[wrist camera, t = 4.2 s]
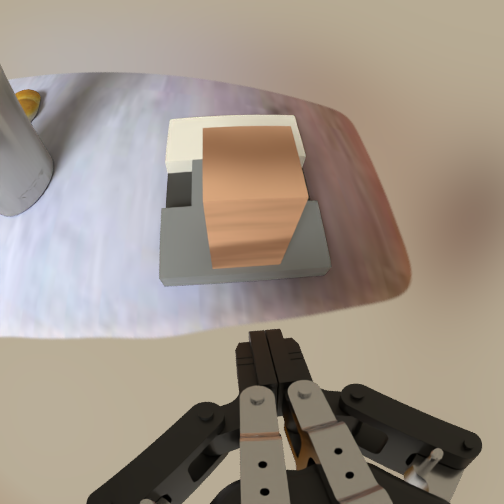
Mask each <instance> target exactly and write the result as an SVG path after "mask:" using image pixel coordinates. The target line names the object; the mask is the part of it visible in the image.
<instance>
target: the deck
mask: <svg viewBox="0 0 504 504" xmlns="http://www.w3.org/2000/svg"><path fill="white" fill-rule="evenodd" d="M302 171H303V168H302ZM303 175H304V172H303ZM304 180H305V176H304ZM305 184H306V181H305ZM306 188H307V185H306ZM307 192H308V189H307ZM308 197H309V193H308ZM331 267H332V266H331V261H330V256H329V251H328V247H327V242H326V237H325V233H324V228H323V224H322V219H321V215H320V210H319V206H318V202H317V201H310V198H308V200H307V202H306V205H305V207H304V210H303V212H302V214H301V217H300V219H299V222H298V224H297V226H296V229H295V231H294V233H293V236H292V238H291V241H290V243H289V245H288V248H287V250H286V252H285V255H284V257H283V259H282V261H281V264H279V265H265V266H250V267H236V268H220V269H213V268H212V261H211V255H210V248H209V241H208V235H207V228H206V221H205V214H204V206H203V159H197V160H192V172H179V173H168V182H167V197H166V208H162V211H161V231H160V264H159V279H160V280H161V282H162V283H163V285H164V286H183V285H200V284H217V283H232V282H246V281H260V280H273V279H286V278H298V277H310V276H321V275H325V274H326V273H327V271H328V270H329V269H330V268H331Z"/></svg>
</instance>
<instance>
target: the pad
mask: <svg viewBox="0 0 504 504" xmlns="http://www.w3.org/2000/svg"><path fill="white" fill-rule="evenodd" d="M232 126H291V129H292V132H293V136H294V140H295V144H296V147H297V151H298V155H299V159H300V163H301V167H303V164H304V161H305V158H306V155H305V151H304V148H303V144H302V141H301V137H300V133H299V130H298V127H297V123H296V120H295V116H294V115H228V116H208V117H193V118H181V119H171V120H170V123H169V132H168V140H167V149H166V159H165V163H166V167H167V171H168V173H179V172H192V160H197V159H203V128H211V127H232Z"/></svg>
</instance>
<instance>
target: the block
mask: <svg viewBox="0 0 504 504" xmlns="http://www.w3.org/2000/svg"><path fill="white" fill-rule="evenodd" d="M308 198H309V197H308V192H307V188H306V184H305V180H304V175H303V171H302V167H301V163H300V159H299V155H298V151H297V147H296V144H295V140H294V136H293V132H292V129H291V126H232V127H211V128H203V206H204V214H205V221H206V228H207V235H208V241H209V248H210V255H211V261H212V268H213V269H220V268H236V267H250V266H265V265H279V264H281V261H282V259H283V257H284V255H285V252H286V250H287V248H288V245H289V243H290V241H291V238H292V236H293V233H294V231H295V229H296V226H297V224H298V222H299V219H300V217H301V214H302V212H303V210H304V207H305V205H306V202H307V200H308Z"/></svg>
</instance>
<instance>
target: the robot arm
mask: <svg viewBox="0 0 504 504" xmlns="http://www.w3.org/2000/svg"><path fill="white" fill-rule="evenodd" d="M52 173H53V160H52V157H51V156H50V154H49V153H48V151H47V149H46V148H45V146H44V145H43V143H42V141H41V140H40V138H39V136H38V134H37V133H36V131H35V129H34V128H33V126H32V124H31V122H30V121H29V119H28V117H27V115H26V114H25V112H24V110H23V108H22V106H21V105H20V103H19V101H18V99H17V97H16V95H15V93H14V91H13V89H12V87H11V85H10V83H9V81H8V79H7V78H6V76H5V73H4V71H3V69H2V67H1V65H0V214H2V215H4V216H10V217H11V216H15V215H18V214H20V213H22V212H24V211H25V210H27V209H28V208H29V207H30V206H32V205H33V204H34V203H35V202H36V201H37V200H38V198H39V197H40V196H41V195H42V193H43V192H44V190H45V189H46V187H47V185H48V184H49V182H50V179H51V176H52ZM235 351H236V366H237V377H238V386H239V395H238V397H237V398H236V399H235V400H234V401H233V402H231V403H229V404H226V405H223V406H219V405H217V404H215V403H212V402H202V403H198V404H196V405H194V406H193V407H192V408H191V409H190V410H189V411H188V412H187V413H186V414H184V415H183V416H182V418H180V419H179V420H178V421H177V422H176V423H175V424H174V425H172V426H171V427H170V428H169V429H168V430H167V431H166V432H165V433H164V434H162V435H161V436H160V437H159V438H158V439H157V440H156V441H155V442H153V443H152V444H151V445H150V446H149V447H148V448H147V449H145V450H144V451H143V452H142V453H141V454H140V455H138V456H137V458H135V459H134V460H133V461H131V462H130V463H129V464H128V465H127V466H125V467H124V468H123V469H122V470H121V471H119V472H118V473H117V474H116V475H114V476H113V477H112V478H111V479H109V480H108V481H107V482H106V483H104V484H103V485H102V486H101V487H99V488H98V489H97V490H96V491H94V492H93V493H92V494H91V495H90V496H89V497H88V499H87V504H182V503H183V502H184V501H185V500H186V499H187V498H188V497H189V496H190V495H191V494H192V493H193V492H194V491H195V490H196V489H197V488H198V487H199V486H200V484H201V483H202V482H203V481H204V480H205V479H206V478H207V477H208V476H209V475H210V474H211V473H212V472H213V470H214V469H215V468H216V467H217V466H218V465H219V464H220V463H221V462H222V460H223V459H224V458H225V457H226V456H227V455H228V453H229V452H230V451H233V450H235V449H238V448H240V476H241V477H240V480H238V481H235V482H233V483H231V484H230V485H228V486H227V487H225V488H224V489H223V490H222V491H220V492H219V494H218V495H217V496H216V497H215V498H214V499H213V501H212V502H211V503H210V504H450V503H449V502H450V500H451V498H452V496H453V494H454V492H455V489H456V487H457V485H458V483H459V481H460V478H461V476H462V473H463V471H464V469H465V468H466V467H467V466H468V465H469V464H470V463H471V462H472V461H473V460H474V459H475V458H476V457H477V456H478V455H479V453H480V452H481V449H482V442H481V439H480V438H479V436H477V434H475V433H473V432H470V431H468V430H465V429H463V428H460V427H458V426H455V425H452V424H450V423H447V422H445V421H443V420H440V419H438V418H435V417H433V416H431V415H428V414H426V413H423V412H421V411H419V410H417V409H414V408H412V407H409V406H408V405H405V404H403V403H401V402H399V401H397V400H394V399H392V398H390V397H388V396H386V395H383V394H381V393H379V392H377V391H375V390H373V389H371V388H368V387H367V386H364V385H362V384H350V385H348V386H346V387H345V388H344V389H343V390H342V392H338V391H327V390H324V389H321V388H320V387H319V386H318V385H317V384H316V383H314V382H313V381H312V378H311V375H310V373H309V370H308V367H307V365H306V362H305V360H304V357H303V354H302V353H301V349H300V347H299V344H298V343H297V342H296V341H295V340H294V339H293V338H286V339H284V338H283V336H282V332H281V330H280V329H272V330H265V332H264V330H262V331H250V332H249V342H243V343H239V344H238V346H237V348H236V350H235ZM278 416H283V418H284V421H285V423H284V431H285V434H286V437H287V440H288V442H289V445H290V448H291V451H292V454H293V457H294V460H295V463H296V470H286V467H285V459H284V452H283V444H282V437H281V435H280V434H279V428H278V420H277V417H278ZM363 456H365V457H367V458H369V459H371V460H373V461H375V462H377V463H379V464H381V465H383V466H385V467H387V468H390V469H392V470H394V471H396V472H398V473H400V474H402V475H404V480H405V481H404V480H402V479H400V478H398V477H396V476H394V475H392V474H390V473H388V472H386V471H384V470H383V469H380V468H379V467H377V466H375V465H373V464H370V463H367V462H366V461H365V459H364V457H363Z"/></svg>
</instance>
